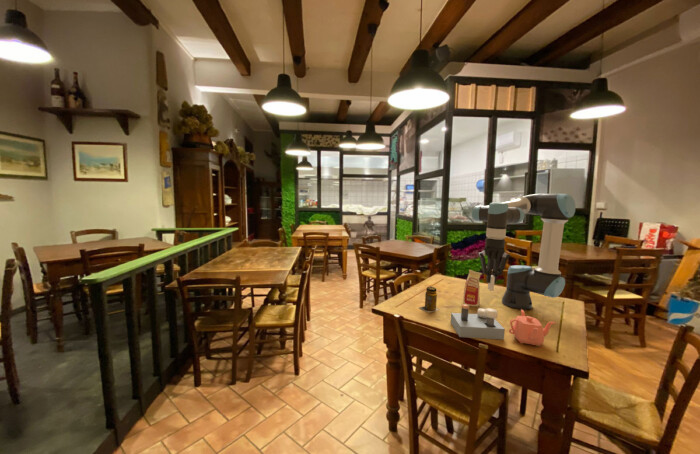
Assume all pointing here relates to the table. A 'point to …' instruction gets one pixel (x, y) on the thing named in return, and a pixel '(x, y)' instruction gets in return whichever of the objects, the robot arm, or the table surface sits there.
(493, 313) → the knob
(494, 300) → the table surface
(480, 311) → the knob
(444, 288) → the table surface
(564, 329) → the table surface
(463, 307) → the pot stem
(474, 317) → the mount
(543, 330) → the teapot
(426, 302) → the condiment
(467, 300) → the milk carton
